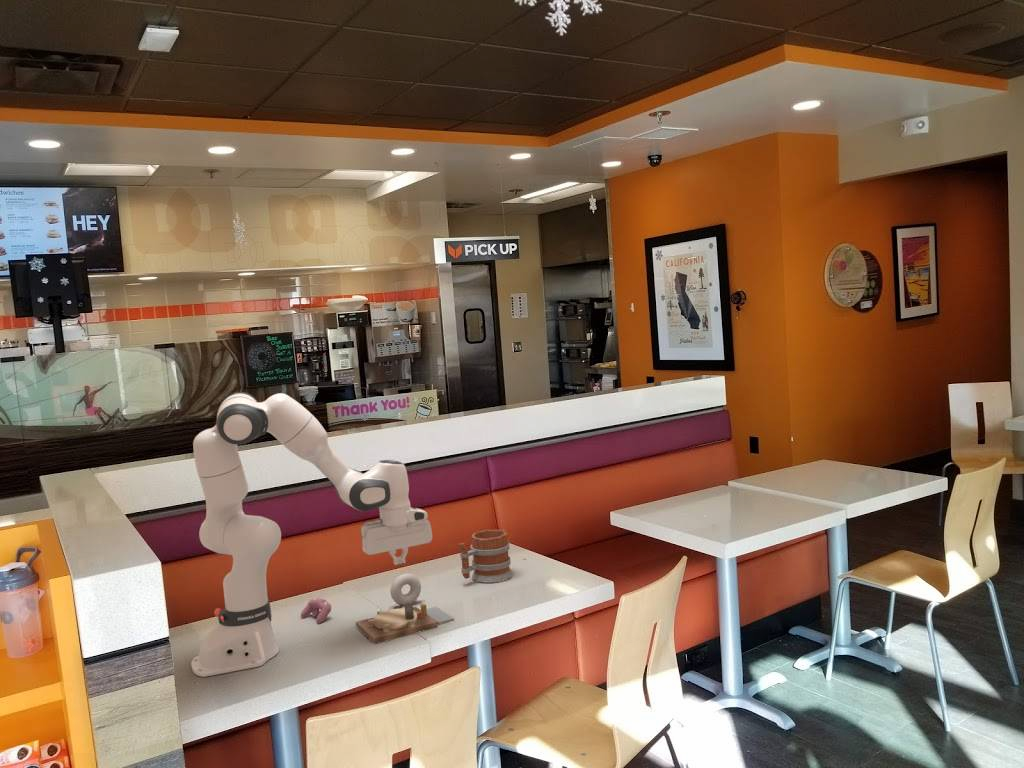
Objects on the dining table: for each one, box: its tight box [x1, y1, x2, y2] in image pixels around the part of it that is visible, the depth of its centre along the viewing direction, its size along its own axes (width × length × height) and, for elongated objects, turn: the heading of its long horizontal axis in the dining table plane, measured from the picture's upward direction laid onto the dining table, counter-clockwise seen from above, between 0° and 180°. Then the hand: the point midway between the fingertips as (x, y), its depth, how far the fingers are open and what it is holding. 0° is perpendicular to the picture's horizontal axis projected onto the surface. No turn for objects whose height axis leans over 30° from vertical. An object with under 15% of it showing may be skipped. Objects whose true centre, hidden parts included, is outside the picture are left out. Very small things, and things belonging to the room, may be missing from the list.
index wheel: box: [368, 603, 423, 632], centre depth 233 cm, size 15×15×6 cm
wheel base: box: [355, 603, 439, 644], centre depth 233 cm, size 19×16×4 cm
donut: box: [390, 572, 422, 607], centre depth 251 cm, size 10×4×10 cm, turn 120°
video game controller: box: [300, 597, 332, 624], centre depth 245 cm, size 10×5×7 cm, turn 48°
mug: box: [459, 529, 513, 584], centre depth 271 cm, size 14×19×15 cm
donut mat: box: [426, 606, 455, 625], centre depth 240 cm, size 5×13×1 cm, turn 29°
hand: (399, 563), depth 230 cm, fingers closed
